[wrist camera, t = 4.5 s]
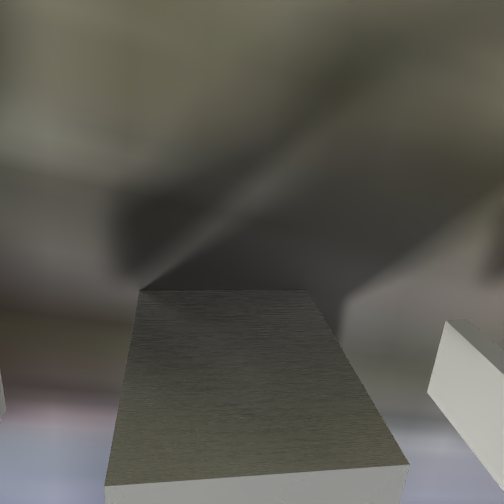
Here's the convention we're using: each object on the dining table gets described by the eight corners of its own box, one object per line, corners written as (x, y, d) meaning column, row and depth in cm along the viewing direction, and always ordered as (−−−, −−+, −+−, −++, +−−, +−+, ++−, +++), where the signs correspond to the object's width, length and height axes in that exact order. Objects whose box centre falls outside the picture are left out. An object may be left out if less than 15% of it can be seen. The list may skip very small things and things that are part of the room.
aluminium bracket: (139, 290, 16) (104, 486, 8) (307, 289, 17) (409, 464, 9) (143, 501, 19) (122, 768, 12) (281, 490, 20) (340, 730, 13)
